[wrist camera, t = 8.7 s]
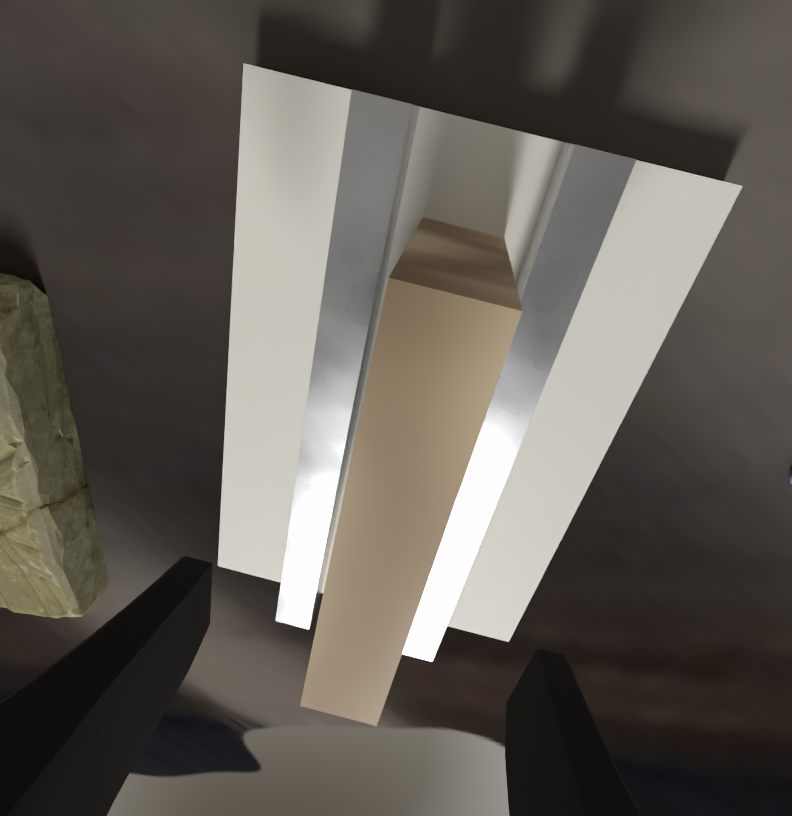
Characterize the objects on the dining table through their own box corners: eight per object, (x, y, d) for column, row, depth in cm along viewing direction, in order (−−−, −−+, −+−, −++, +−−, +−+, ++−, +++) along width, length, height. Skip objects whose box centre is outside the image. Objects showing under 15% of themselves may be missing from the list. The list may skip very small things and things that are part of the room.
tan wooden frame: (505, 238, 15) (525, 312, 9) (404, 562, 22) (377, 726, 16) (421, 216, 15) (385, 276, 9) (346, 547, 22) (298, 705, 16)
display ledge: (724, 181, 15) (781, 194, 12) (507, 620, 25) (511, 682, 22) (259, 67, 15) (211, 54, 12) (228, 547, 25) (197, 600, 22)
